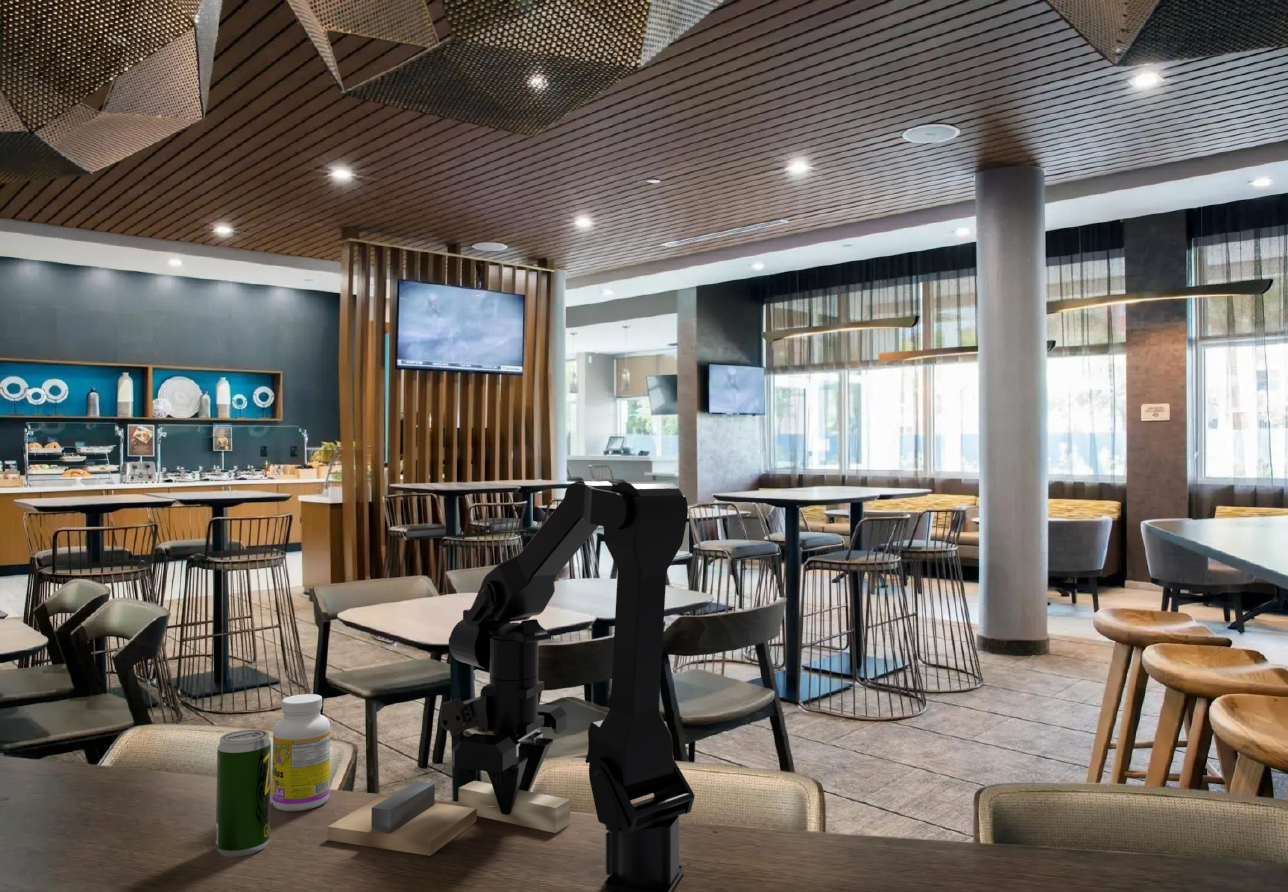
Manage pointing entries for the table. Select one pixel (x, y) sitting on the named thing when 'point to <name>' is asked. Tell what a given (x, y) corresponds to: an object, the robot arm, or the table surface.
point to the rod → (518, 807)
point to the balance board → (407, 834)
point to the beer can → (243, 792)
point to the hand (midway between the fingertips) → (513, 808)
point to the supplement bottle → (301, 755)
